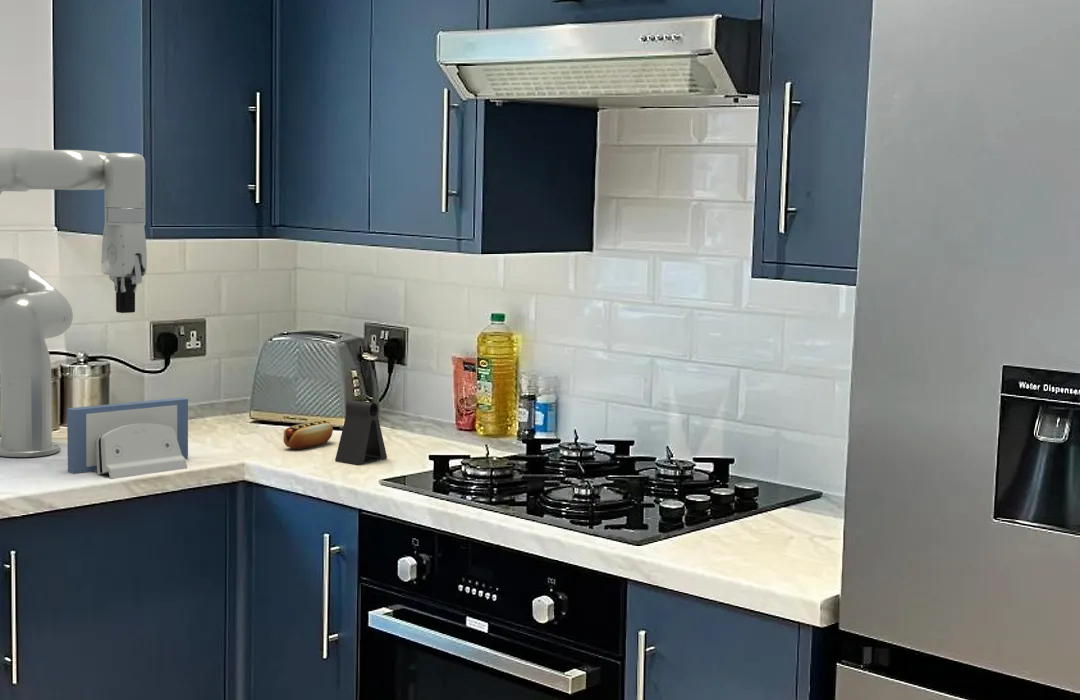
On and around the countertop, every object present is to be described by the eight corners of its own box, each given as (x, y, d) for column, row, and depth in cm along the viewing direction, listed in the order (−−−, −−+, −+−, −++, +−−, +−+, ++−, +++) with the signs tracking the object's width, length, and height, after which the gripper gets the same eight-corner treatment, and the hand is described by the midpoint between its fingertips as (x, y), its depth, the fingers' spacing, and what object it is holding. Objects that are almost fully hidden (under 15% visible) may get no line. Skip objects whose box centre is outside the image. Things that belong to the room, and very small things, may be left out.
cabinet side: (67, 471, 269) (67, 408, 267) (181, 456, 285) (181, 397, 284) (74, 473, 267) (73, 410, 266) (188, 459, 284) (188, 399, 282)
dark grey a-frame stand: (364, 455, 293) (365, 397, 292) (387, 459, 290) (388, 400, 288) (334, 461, 286) (335, 402, 284) (357, 465, 282) (358, 405, 281)
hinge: (109, 479, 263) (100, 425, 265) (97, 483, 267) (88, 431, 268) (189, 468, 275) (179, 417, 277) (176, 472, 279) (167, 422, 280)
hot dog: (338, 443, 305) (338, 420, 304) (297, 453, 294) (298, 429, 293) (320, 441, 308) (320, 418, 307) (279, 450, 296) (279, 426, 295)
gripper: (88, 215, 278) (89, 309, 281) (126, 219, 268) (126, 316, 270) (124, 216, 284) (124, 308, 286) (162, 219, 273) (162, 314, 275)
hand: (125, 312), depth 278 cm, fingers closed
